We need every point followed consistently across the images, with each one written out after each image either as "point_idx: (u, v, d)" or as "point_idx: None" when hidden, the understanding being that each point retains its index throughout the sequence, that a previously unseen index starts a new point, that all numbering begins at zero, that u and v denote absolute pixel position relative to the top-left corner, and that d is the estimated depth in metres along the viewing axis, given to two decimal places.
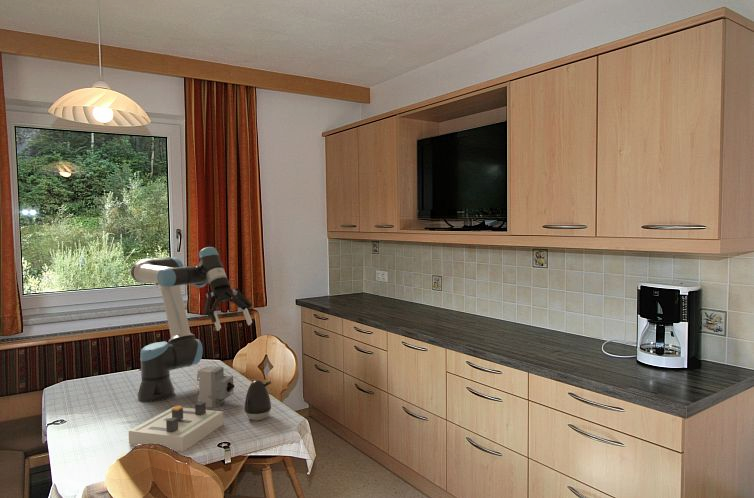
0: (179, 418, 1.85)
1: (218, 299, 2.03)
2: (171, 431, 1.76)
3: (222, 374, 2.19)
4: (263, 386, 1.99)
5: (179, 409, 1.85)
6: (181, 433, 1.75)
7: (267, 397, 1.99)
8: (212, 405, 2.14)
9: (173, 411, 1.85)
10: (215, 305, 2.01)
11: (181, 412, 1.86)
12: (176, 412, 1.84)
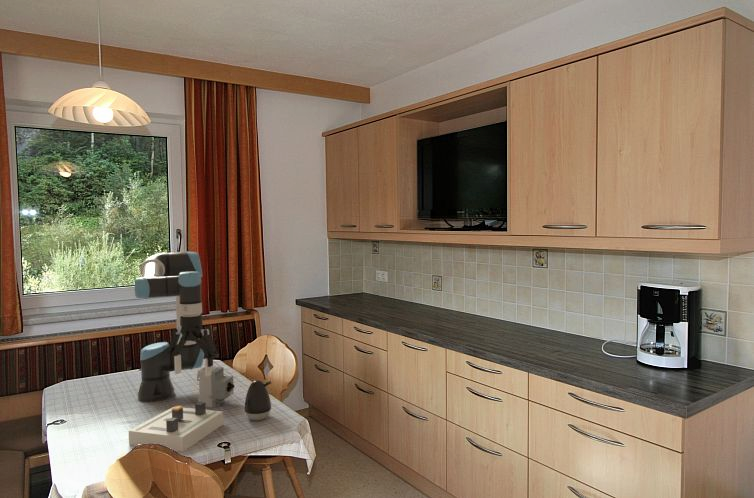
0: (179, 418, 1.85)
1: (181, 341, 1.83)
2: (171, 431, 1.76)
3: (222, 374, 2.19)
4: (263, 386, 1.99)
5: (179, 409, 1.85)
6: (181, 433, 1.75)
7: (267, 397, 1.99)
8: (212, 405, 2.14)
9: (173, 411, 1.85)
10: (177, 347, 1.83)
11: (181, 412, 1.86)
12: (176, 412, 1.84)
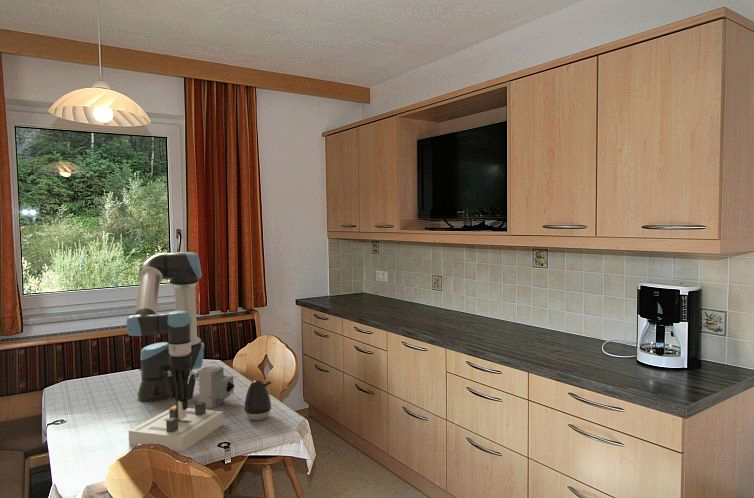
0: None
1: (175, 382, 1.84)
2: (171, 431, 1.76)
3: (222, 374, 2.19)
4: (263, 386, 1.99)
5: (176, 409, 1.86)
6: (181, 433, 1.75)
7: (267, 397, 1.99)
8: (212, 405, 2.14)
9: (170, 411, 1.85)
10: (176, 390, 1.84)
11: None
12: (174, 411, 1.85)
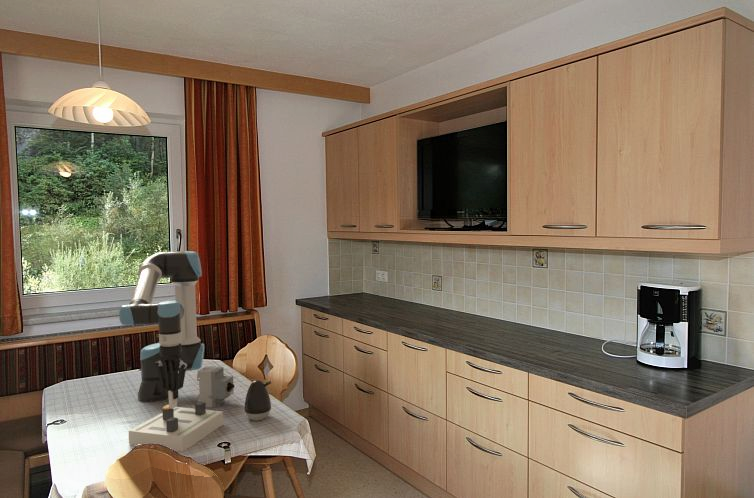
0: (169, 417, 1.86)
1: (165, 372, 1.85)
2: (171, 431, 1.76)
3: (222, 374, 2.19)
4: (263, 386, 1.99)
5: (169, 408, 1.86)
6: (181, 433, 1.75)
7: (267, 397, 1.99)
8: (212, 405, 2.14)
9: (164, 410, 1.86)
10: (166, 379, 1.85)
11: (172, 411, 1.88)
12: (167, 411, 1.86)
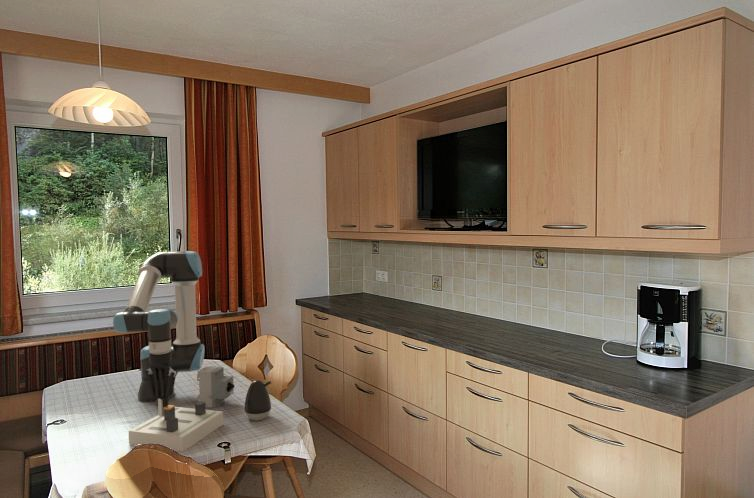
0: (171, 417, 1.86)
1: (155, 379, 1.86)
2: (171, 431, 1.76)
3: (222, 374, 2.19)
4: (263, 386, 1.99)
5: (171, 408, 1.86)
6: (181, 433, 1.75)
7: (267, 397, 1.99)
8: (212, 405, 2.14)
9: (165, 410, 1.86)
10: (156, 387, 1.86)
11: (173, 411, 1.87)
12: (168, 411, 1.85)
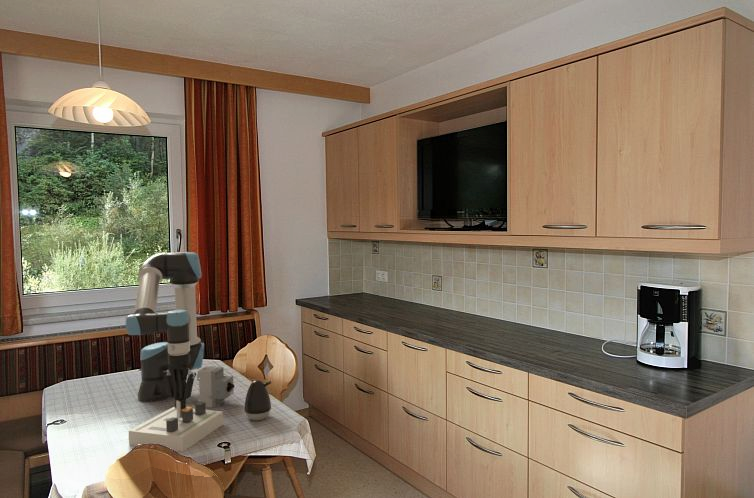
0: (189, 419, 1.84)
1: (173, 381, 1.84)
2: (171, 431, 1.76)
3: (222, 374, 2.19)
4: (263, 386, 1.99)
5: (189, 410, 1.84)
6: (181, 433, 1.75)
7: (267, 397, 1.99)
8: (212, 405, 2.14)
9: (183, 412, 1.84)
10: (174, 389, 1.84)
11: (191, 413, 1.85)
12: (186, 413, 1.83)
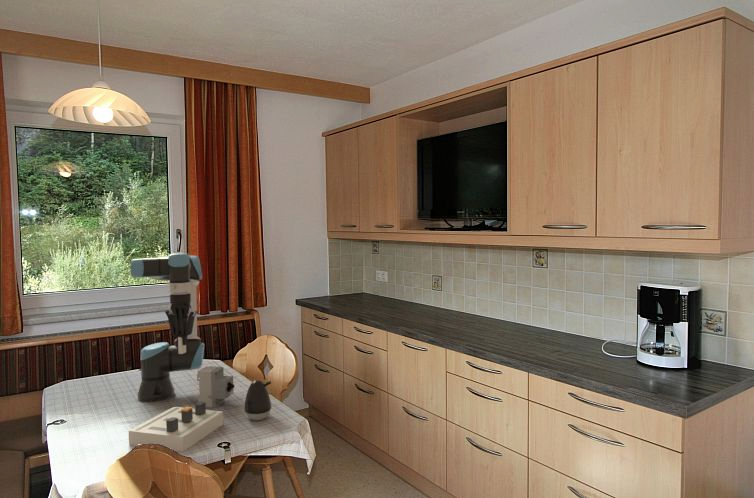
0: (189, 419, 1.84)
1: (175, 319, 1.98)
2: (171, 431, 1.76)
3: (222, 374, 2.19)
4: (263, 386, 1.99)
5: (189, 410, 1.84)
6: (181, 433, 1.75)
7: (267, 397, 1.99)
8: (212, 405, 2.14)
9: (183, 412, 1.84)
10: (176, 326, 1.98)
11: (190, 413, 1.85)
12: (186, 413, 1.83)
